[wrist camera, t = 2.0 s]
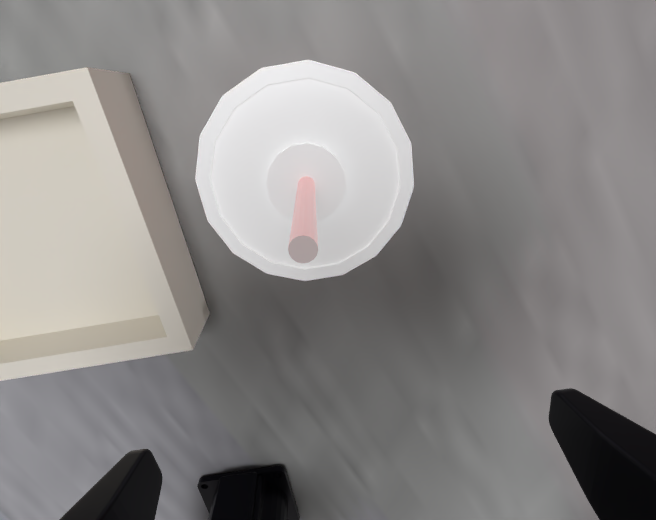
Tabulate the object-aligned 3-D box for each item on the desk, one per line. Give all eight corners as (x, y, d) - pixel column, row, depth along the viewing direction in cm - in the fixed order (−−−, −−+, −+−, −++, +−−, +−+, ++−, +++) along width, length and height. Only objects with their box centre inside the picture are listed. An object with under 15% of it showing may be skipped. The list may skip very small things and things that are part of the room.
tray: (209, 313, 22) (192, 349, 19) (-1, 347, 23) (-53, 389, 19) (129, 73, 17) (87, 67, 14) (-143, 121, 17) (-246, 127, 14)
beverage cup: (390, 114, 18) (581, 148, 5) (337, 223, 20) (383, 436, 7) (273, 53, 17) (158, -88, 4) (229, 176, 19) (62, 336, 6)
